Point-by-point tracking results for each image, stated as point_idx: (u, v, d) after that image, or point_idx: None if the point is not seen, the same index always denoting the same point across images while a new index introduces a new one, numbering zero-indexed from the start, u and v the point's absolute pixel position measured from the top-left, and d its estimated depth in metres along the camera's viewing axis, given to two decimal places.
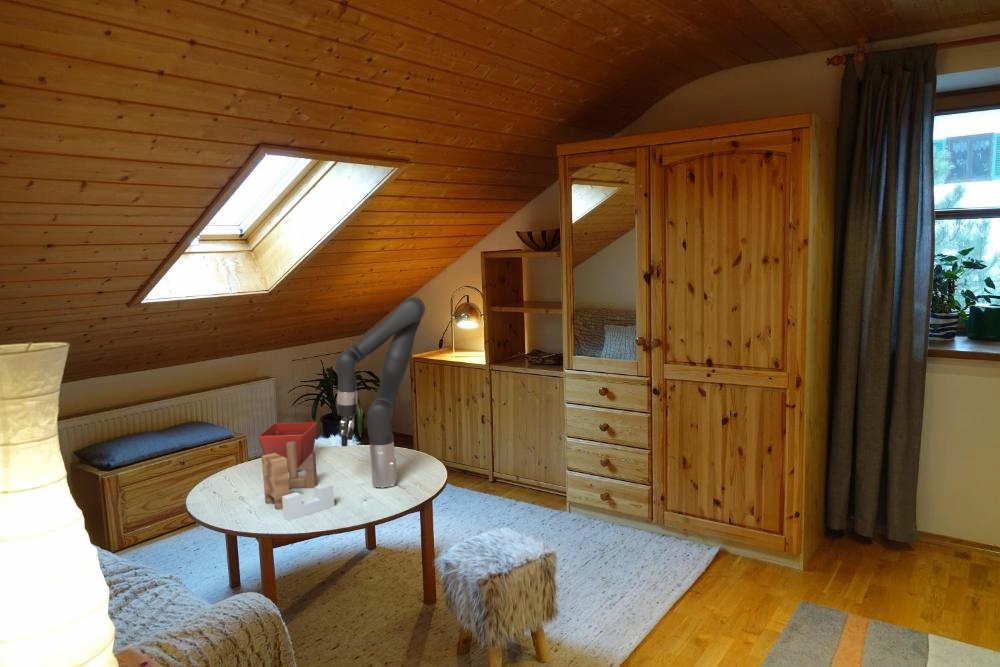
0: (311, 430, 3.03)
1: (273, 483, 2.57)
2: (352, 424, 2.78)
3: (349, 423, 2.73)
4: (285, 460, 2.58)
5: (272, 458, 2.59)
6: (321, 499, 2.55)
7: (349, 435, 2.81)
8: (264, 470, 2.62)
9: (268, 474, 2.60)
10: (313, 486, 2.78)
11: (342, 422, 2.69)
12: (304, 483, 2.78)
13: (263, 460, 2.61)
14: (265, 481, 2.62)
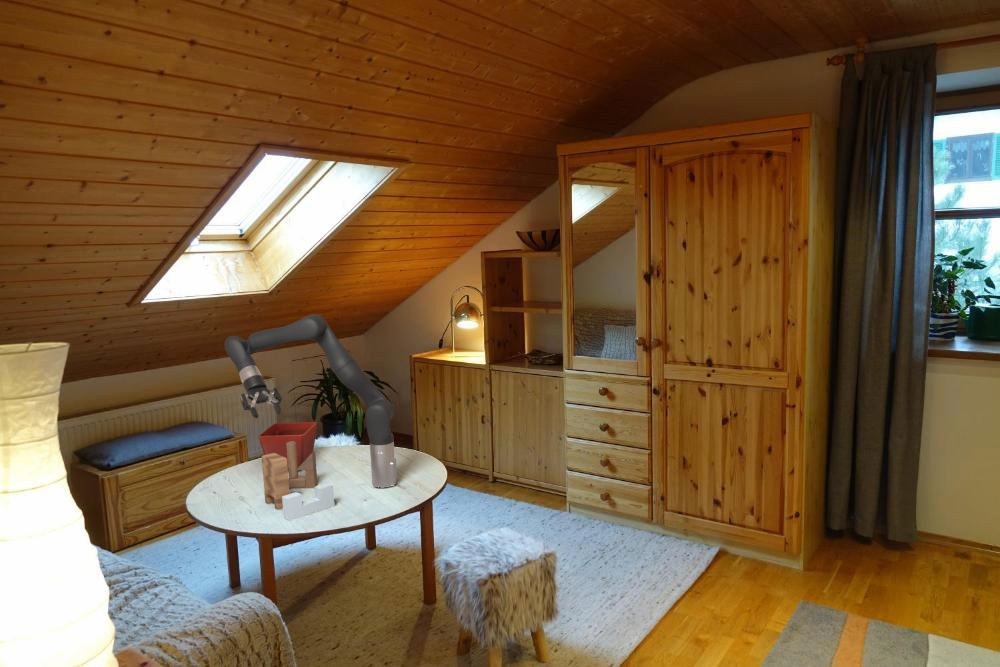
0: (311, 430, 3.03)
1: (273, 483, 2.57)
2: (268, 396, 2.68)
3: (254, 395, 2.66)
4: (285, 460, 2.58)
5: (272, 458, 2.59)
6: (321, 499, 2.55)
7: (276, 409, 2.68)
8: (264, 470, 2.62)
9: (268, 474, 2.60)
10: (313, 486, 2.78)
11: None
12: (304, 483, 2.78)
13: (263, 460, 2.61)
14: (265, 481, 2.62)
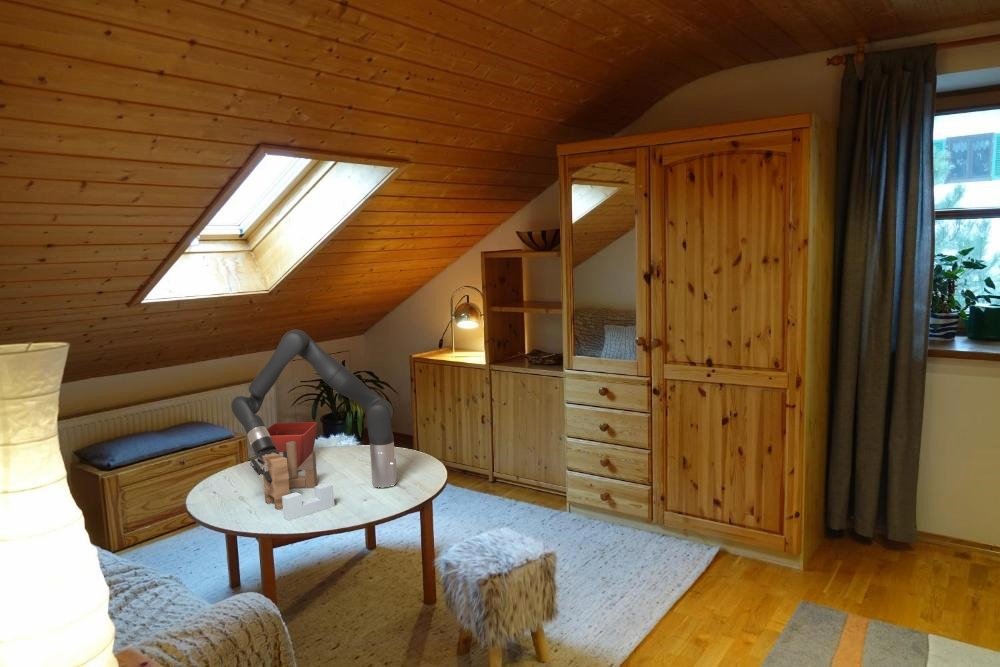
0: (311, 430, 3.03)
1: (273, 483, 2.57)
2: None
3: None
4: (285, 460, 2.58)
5: (272, 458, 2.59)
6: (321, 499, 2.55)
7: None
8: None
9: None
10: (313, 486, 2.78)
11: (250, 462, 2.59)
12: (304, 483, 2.78)
13: None
14: (265, 480, 2.62)
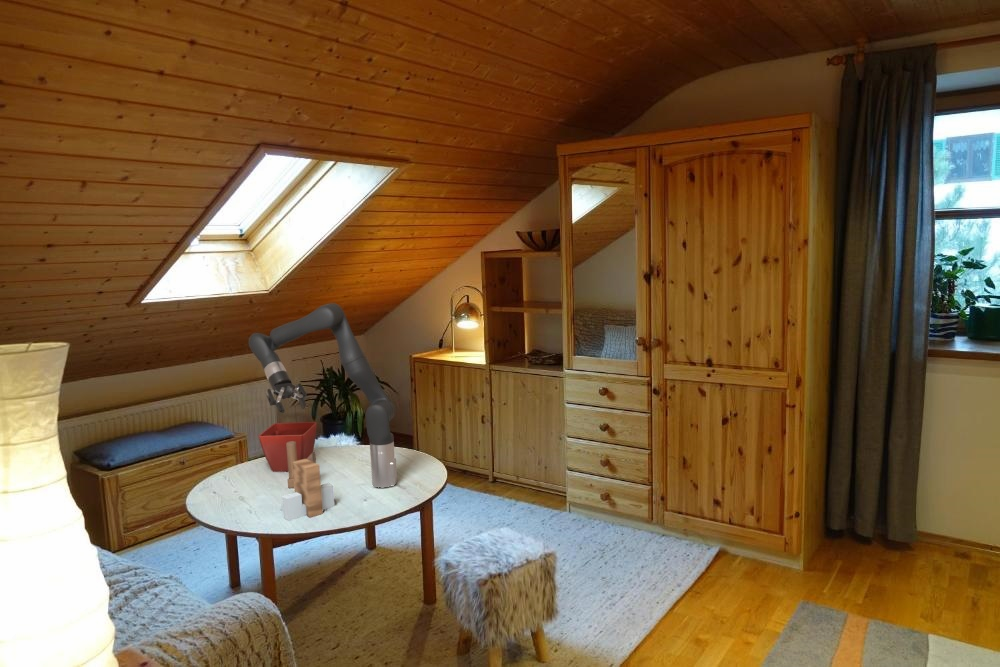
0: (311, 430, 3.03)
1: (305, 490, 2.49)
2: (293, 392, 2.72)
3: (280, 390, 2.70)
4: (317, 466, 2.50)
5: (304, 464, 2.51)
6: None
7: (301, 404, 2.72)
8: (295, 477, 2.53)
9: (299, 481, 2.52)
10: None
11: (266, 392, 2.68)
12: None
13: (294, 466, 2.53)
14: (296, 487, 2.54)
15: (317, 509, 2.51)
